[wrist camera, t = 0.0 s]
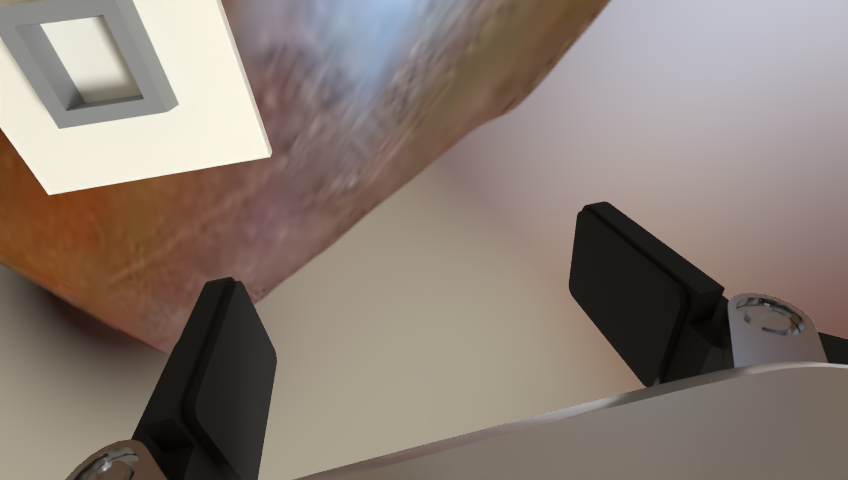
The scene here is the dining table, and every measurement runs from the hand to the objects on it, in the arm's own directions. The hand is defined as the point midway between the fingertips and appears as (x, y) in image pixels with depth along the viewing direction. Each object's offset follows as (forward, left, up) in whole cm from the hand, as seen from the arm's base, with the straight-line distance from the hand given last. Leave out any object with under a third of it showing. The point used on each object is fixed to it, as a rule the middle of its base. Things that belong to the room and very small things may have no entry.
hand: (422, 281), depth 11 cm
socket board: (-5, -20, -31) cm, 37 cm away
